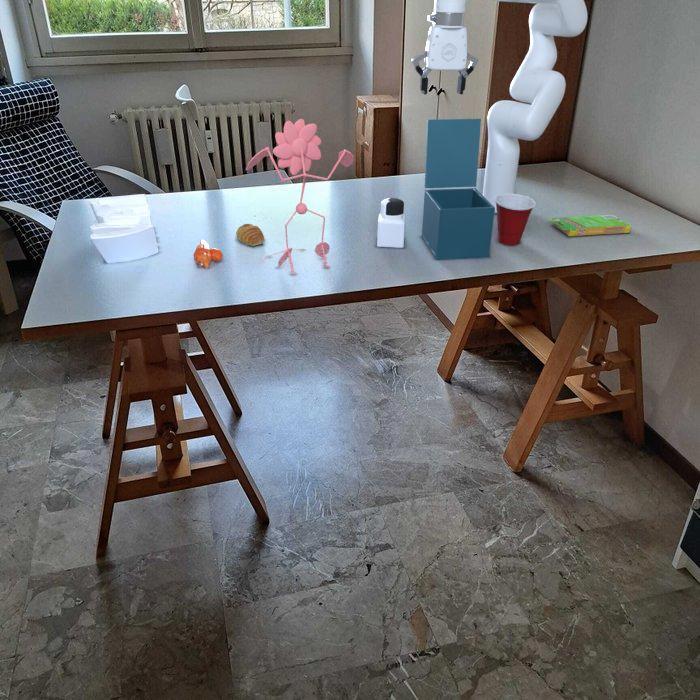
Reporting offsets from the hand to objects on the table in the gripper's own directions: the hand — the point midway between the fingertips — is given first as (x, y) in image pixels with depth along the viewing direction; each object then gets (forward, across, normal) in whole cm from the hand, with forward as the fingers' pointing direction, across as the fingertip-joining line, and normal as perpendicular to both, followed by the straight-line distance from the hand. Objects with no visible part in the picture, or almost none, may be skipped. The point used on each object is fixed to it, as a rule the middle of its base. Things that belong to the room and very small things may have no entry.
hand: (442, 93), depth 173 cm
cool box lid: (+14, +2, -7) cm, 16 cm away
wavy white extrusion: (+38, -85, -1) cm, 93 cm away
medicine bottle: (+37, -14, -10) cm, 41 cm away
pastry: (+38, -51, -3) cm, 64 cm away
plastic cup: (+36, +18, -14) cm, 43 cm away
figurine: (+38, -40, -20) cm, 58 cm away
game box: (+36, +45, -8) cm, 58 cm away
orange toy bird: (+38, -63, -17) cm, 75 cm away
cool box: (+37, +2, -16) cm, 40 cm away
